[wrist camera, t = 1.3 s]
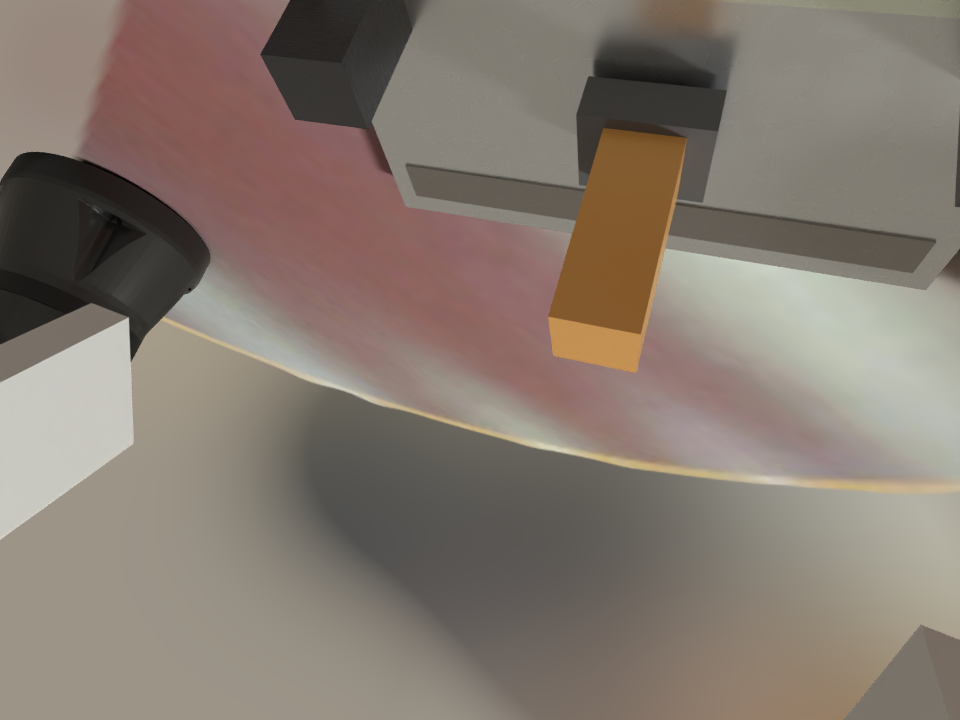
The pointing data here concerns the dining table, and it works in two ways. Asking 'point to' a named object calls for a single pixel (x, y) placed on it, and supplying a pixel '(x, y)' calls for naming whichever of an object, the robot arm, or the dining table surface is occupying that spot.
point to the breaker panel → (666, 60)
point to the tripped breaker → (628, 210)
